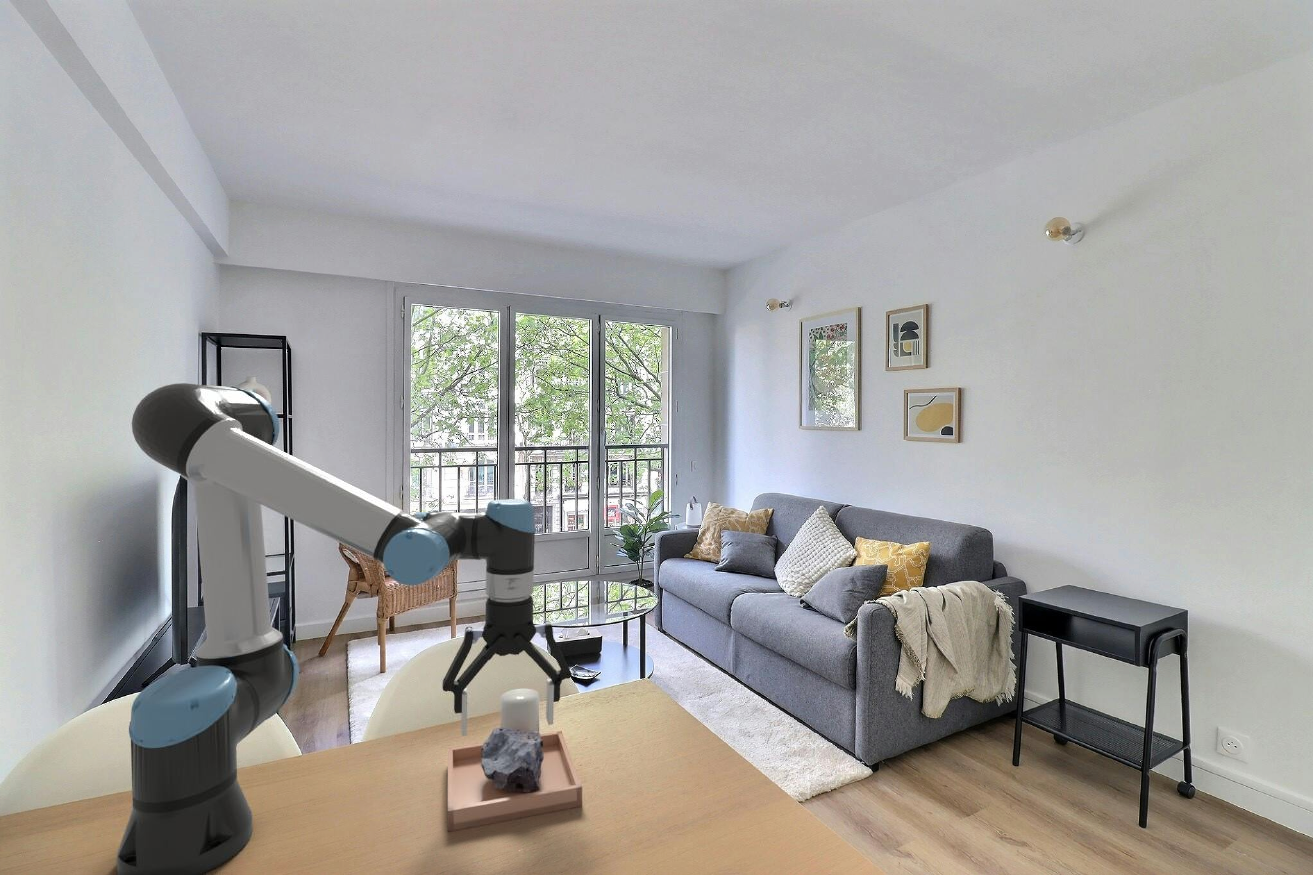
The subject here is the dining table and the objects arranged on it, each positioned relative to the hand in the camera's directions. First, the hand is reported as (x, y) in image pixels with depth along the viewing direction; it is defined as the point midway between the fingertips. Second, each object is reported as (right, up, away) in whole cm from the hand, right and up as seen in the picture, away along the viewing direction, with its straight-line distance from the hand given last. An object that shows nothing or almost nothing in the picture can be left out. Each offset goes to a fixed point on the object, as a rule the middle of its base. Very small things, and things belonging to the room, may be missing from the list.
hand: (507, 726), depth 104 cm
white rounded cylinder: (-1, -9, +15) cm, 18 cm away
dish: (+1, -10, 0) cm, 10 cm away
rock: (+1, -9, 0) cm, 9 cm away
